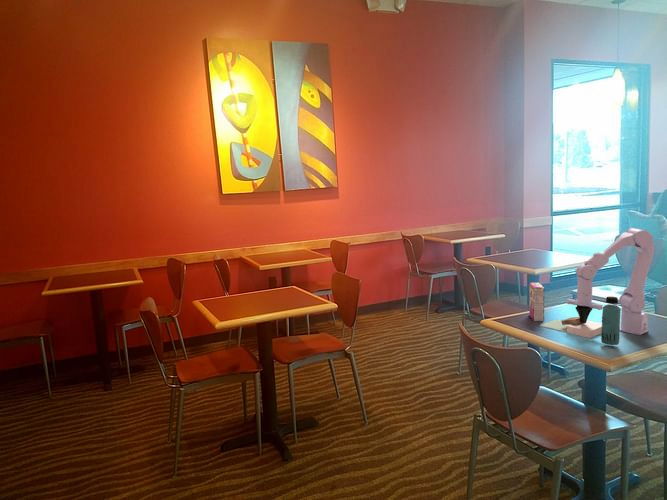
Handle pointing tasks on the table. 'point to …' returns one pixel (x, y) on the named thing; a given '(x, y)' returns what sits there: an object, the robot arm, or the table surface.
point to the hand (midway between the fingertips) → (583, 322)
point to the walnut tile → (571, 321)
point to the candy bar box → (536, 301)
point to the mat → (555, 325)
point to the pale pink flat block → (585, 329)
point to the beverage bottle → (611, 322)
